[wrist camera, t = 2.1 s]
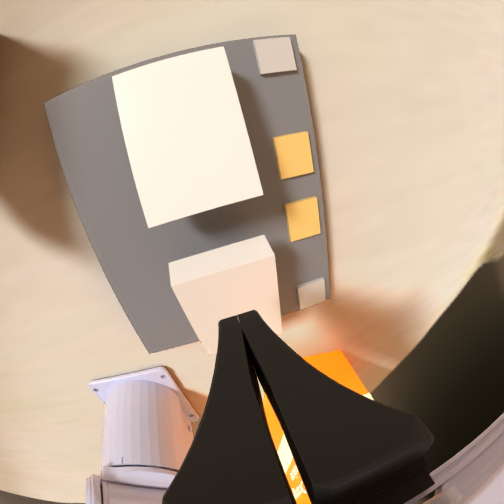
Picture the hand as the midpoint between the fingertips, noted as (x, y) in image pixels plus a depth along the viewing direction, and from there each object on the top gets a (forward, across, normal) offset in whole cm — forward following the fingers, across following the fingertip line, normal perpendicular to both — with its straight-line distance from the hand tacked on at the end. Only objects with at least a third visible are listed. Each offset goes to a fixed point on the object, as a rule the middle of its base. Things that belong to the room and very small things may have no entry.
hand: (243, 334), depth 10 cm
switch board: (+9, 0, -2) cm, 10 cm away
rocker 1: (+6, 0, -6) cm, 9 cm away
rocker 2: (+6, 0, +2) cm, 7 cm away
